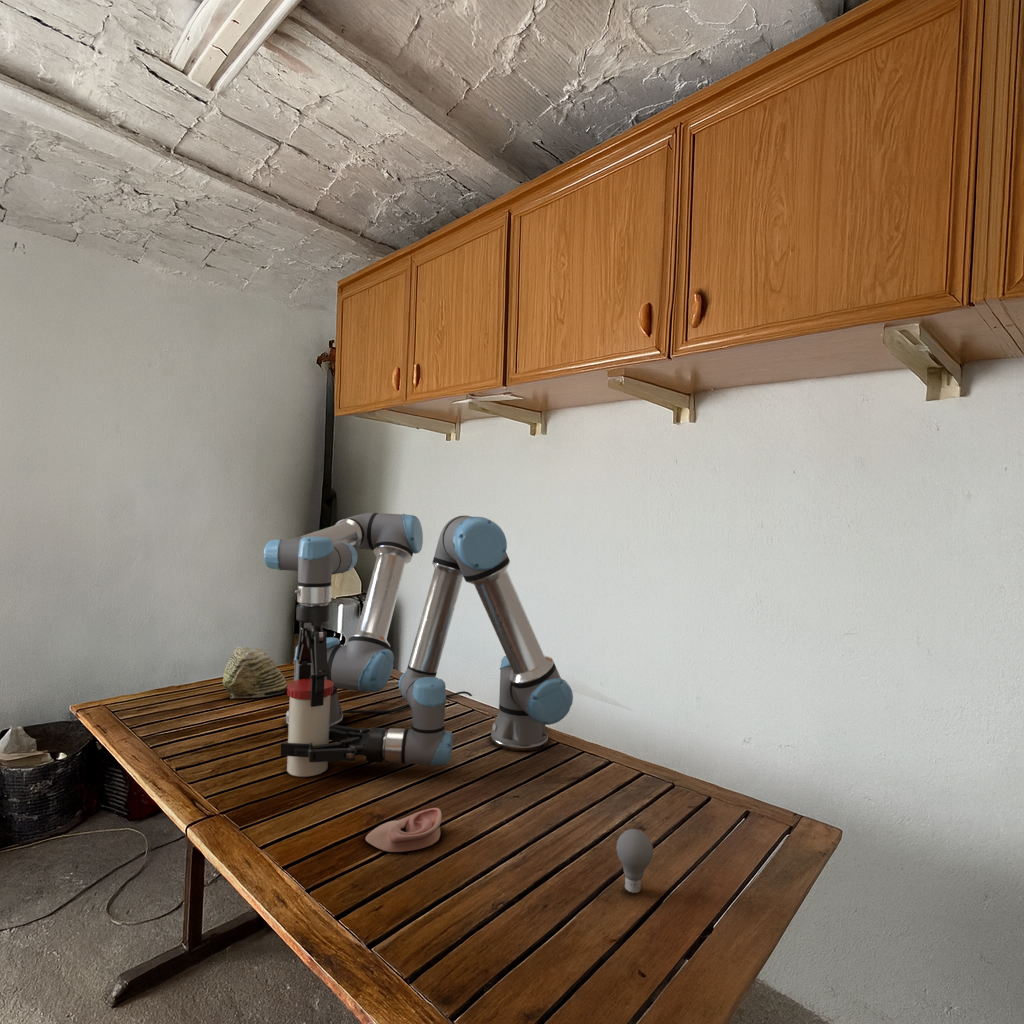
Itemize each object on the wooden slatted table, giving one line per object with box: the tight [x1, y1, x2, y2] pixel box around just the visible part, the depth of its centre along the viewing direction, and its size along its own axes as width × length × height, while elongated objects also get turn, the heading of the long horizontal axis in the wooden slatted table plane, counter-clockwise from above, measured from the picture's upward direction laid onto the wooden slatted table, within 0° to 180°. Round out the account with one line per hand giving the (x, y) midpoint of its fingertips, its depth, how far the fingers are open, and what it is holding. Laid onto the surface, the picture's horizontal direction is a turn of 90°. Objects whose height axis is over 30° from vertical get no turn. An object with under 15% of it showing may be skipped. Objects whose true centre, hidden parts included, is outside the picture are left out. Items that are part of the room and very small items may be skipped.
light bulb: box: [615, 828, 654, 894], centre depth 106 cm, size 6×6×10 cm
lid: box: [286, 678, 334, 700], centre depth 147 cm, size 10×10×2 cm
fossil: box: [222, 646, 288, 699], centre depth 198 cm, size 9×18×15 cm, turn 132°
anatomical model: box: [364, 807, 443, 853], centre depth 119 cm, size 13×4×12 cm
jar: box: [286, 695, 331, 778], centre depth 147 cm, size 9×9×19 cm
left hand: (310, 698), depth 147 cm, fingers closed on lid, 10 cm apart
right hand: (289, 740), depth 147 cm, fingers closed on jar, 9 cm apart
